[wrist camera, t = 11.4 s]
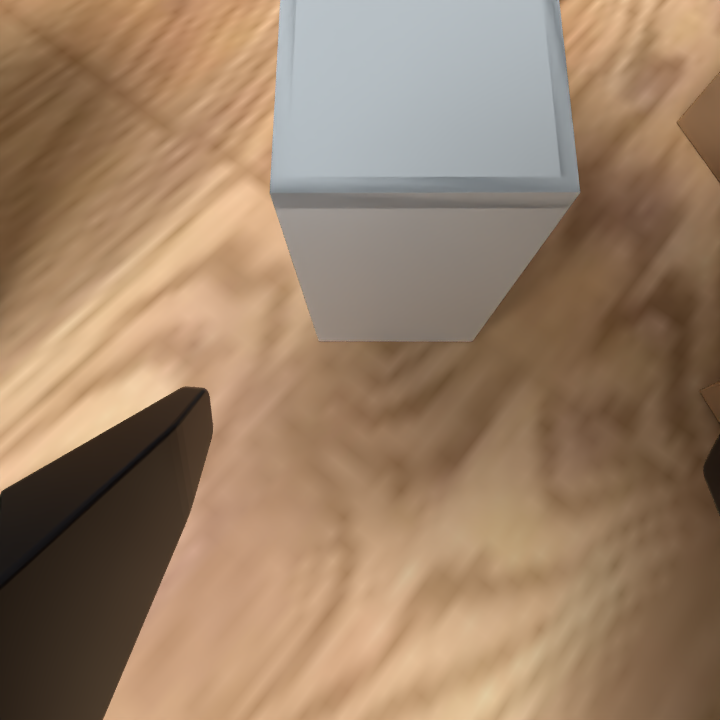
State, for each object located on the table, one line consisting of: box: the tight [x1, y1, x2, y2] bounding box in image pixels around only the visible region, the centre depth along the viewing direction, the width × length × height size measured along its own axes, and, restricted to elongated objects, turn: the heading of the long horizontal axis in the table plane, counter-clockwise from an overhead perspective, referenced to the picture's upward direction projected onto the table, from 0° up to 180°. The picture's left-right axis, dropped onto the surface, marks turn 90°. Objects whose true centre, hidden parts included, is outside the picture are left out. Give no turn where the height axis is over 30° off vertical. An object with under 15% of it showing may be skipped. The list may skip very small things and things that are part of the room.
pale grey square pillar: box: [270, 0, 580, 342], centre depth 13 cm, size 5×5×9 cm
